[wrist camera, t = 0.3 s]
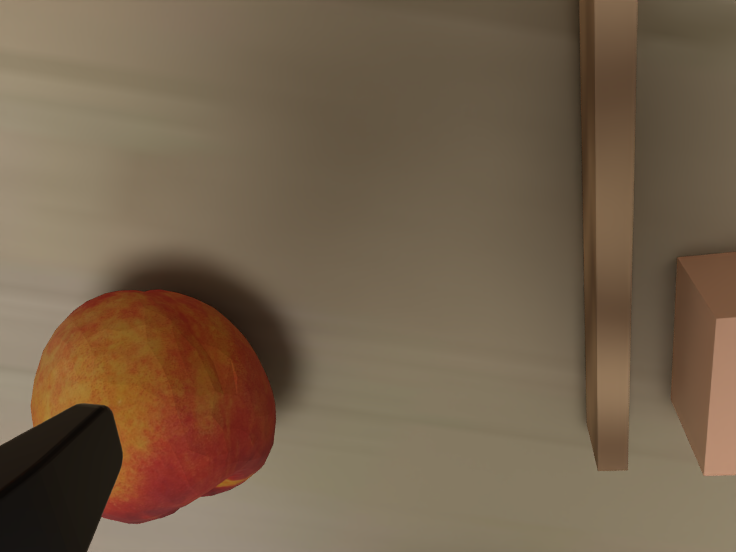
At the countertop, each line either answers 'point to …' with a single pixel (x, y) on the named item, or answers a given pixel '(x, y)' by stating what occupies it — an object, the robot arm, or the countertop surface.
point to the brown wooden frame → (608, 218)
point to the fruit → (162, 396)
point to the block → (706, 358)
